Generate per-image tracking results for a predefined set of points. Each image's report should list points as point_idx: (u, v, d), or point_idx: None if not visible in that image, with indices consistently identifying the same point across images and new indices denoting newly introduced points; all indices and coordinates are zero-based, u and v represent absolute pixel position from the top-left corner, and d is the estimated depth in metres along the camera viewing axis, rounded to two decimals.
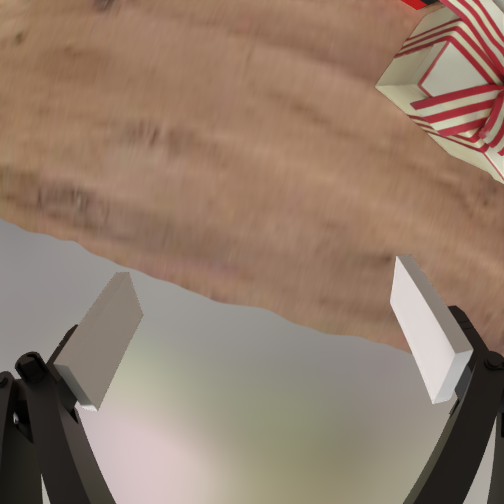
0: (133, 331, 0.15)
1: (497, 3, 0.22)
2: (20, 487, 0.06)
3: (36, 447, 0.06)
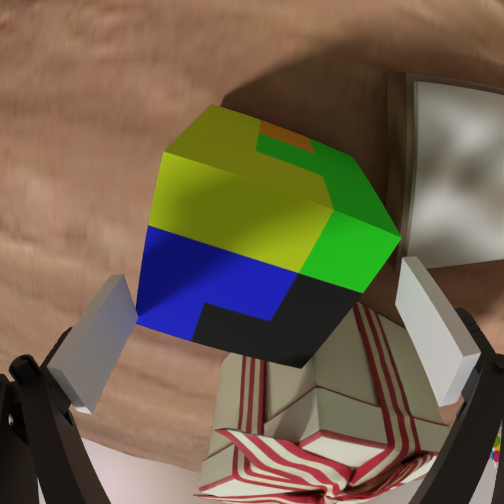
0: (128, 333, 0.15)
1: (453, 241, 0.20)
2: (17, 489, 0.06)
3: (31, 449, 0.06)
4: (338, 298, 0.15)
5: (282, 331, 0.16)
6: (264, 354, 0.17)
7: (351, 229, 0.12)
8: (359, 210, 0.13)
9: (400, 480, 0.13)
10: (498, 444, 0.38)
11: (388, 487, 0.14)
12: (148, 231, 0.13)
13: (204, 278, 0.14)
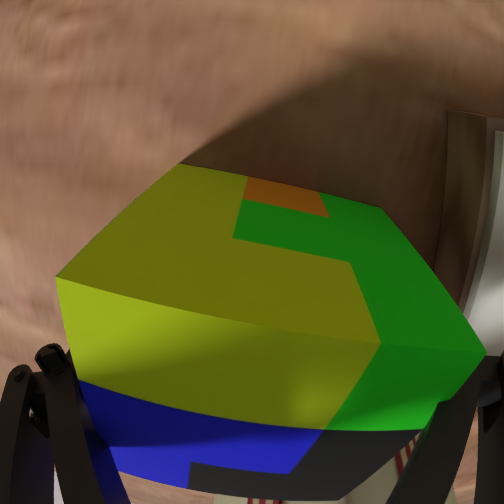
0: None
1: None
2: (31, 483, 0.06)
3: (52, 440, 0.07)
4: (387, 442, 0.08)
5: (308, 480, 0.09)
6: (287, 496, 0.10)
7: (411, 363, 0.06)
8: (419, 322, 0.07)
9: None
10: None
11: None
12: (82, 386, 0.07)
13: (181, 441, 0.08)
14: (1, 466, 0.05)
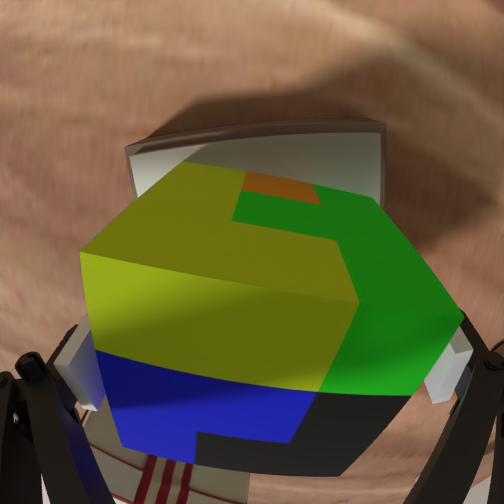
0: None
1: None
2: (20, 487, 0.06)
3: (36, 447, 0.06)
4: (378, 408, 0.09)
5: (307, 450, 0.10)
6: (289, 471, 0.11)
7: (390, 324, 0.07)
8: (397, 288, 0.08)
9: None
10: None
11: None
12: (98, 356, 0.09)
13: (188, 408, 0.09)
14: None
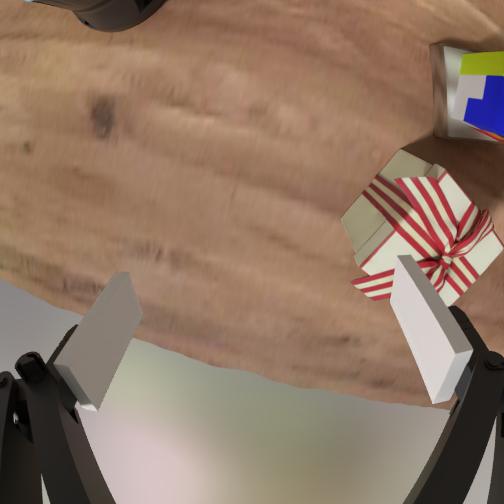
0: (133, 331, 0.15)
1: None
2: (20, 487, 0.06)
3: (36, 447, 0.06)
4: None
5: None
6: None
7: None
8: None
9: (484, 218, 0.28)
10: None
11: (479, 225, 0.28)
12: (502, 78, 0.23)
13: None
14: None
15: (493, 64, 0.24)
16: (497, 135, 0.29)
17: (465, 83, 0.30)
